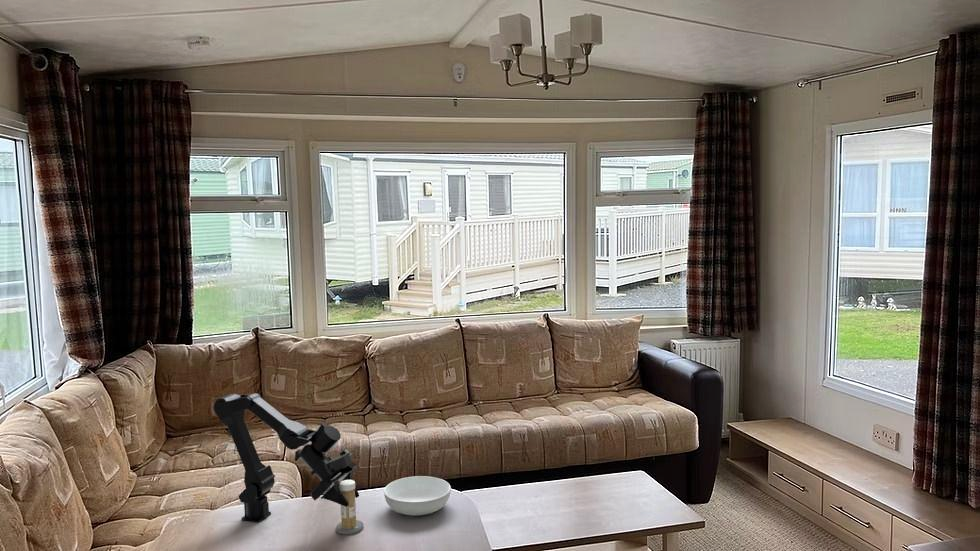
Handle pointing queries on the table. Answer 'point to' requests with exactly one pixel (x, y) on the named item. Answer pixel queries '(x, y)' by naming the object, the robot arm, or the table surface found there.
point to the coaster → (351, 531)
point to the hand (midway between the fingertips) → (353, 501)
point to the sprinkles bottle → (350, 511)
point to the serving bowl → (417, 495)
